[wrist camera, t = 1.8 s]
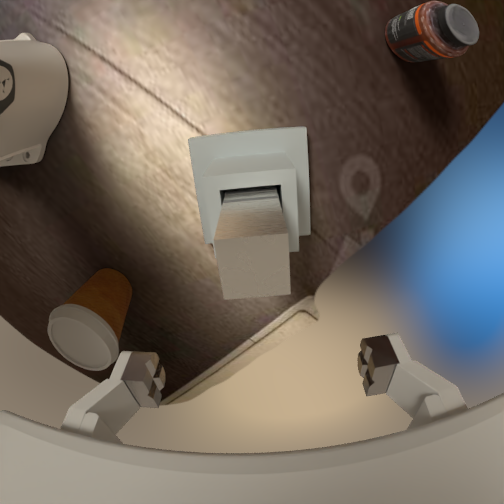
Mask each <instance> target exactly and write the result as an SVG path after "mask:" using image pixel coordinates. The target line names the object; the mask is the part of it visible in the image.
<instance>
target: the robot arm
mask: <svg viewBox="0 0 504 504" xmlns="http://www.w3.org/2000/svg"><path fill="white" fill-rule="evenodd" d="M67 94H68V72H67V67H66V64H65V61H64V59H63V57H62V55H61V53H60V52H59V51H58V50H57V49H56V48H55V47H53V46H52V45H50V44H47V43H42V42H38V41H37V40H36V39H35V38H34V37H33V36H32V35H31V34H30V33H22V34H20V35H19V36H18V37H16V38H15V39H14V40H0V167H2V166H11V165H22V164H33V163H38V162H40V161H41V160H42V158H43V156H44V152H45V148H46V144H47V140H48V138H49V137H50V135H51V133H52V132H53V131H54V129H55V128H56V126H57V124H58V122H59V120H60V118H61V116H62V113H63V111H64V108H65V104H66V100H67ZM29 154H30V157H29ZM360 347H361V351H360V352H359V354H358V370H359V373H360V375H361V376H362V377H363V378H364V381H363V386H364V390H365V393H366V396H371V395H377V394H383V393H386V394H387V395H388V396H389V397H390V398H391V399H392V400H393V401H394V402H396V403H397V404H398V405H399V406H400V407H401V408H402V409H403V410H404V411H406V412H407V413H408V414H409V415H410V416H411V417H412V418H413V420H412V422H411V424H410V425H409V427H408V428H407V430H405V431H401V432H397V433H393V434H390V435H385V436H381V437H377V438H372V439H368V440H363V441H358V442H353V443H347V444H342V445H336V446H329V447H322V448H314V449H306V450H296V451H284V452H270V453H231V454H230V453H226V454H225V453H198V452H183V451H171V450H162V449H154V448H146V447H139V446H133V445H127V444H123V443H122V442H121V441H120V439H119V438H118V437H117V436H116V433H117V432H118V431H119V430H120V429H121V428H122V427H123V426H124V425H125V424H126V423H127V422H128V421H129V420H130V418H131V417H132V416H133V415H134V414H135V413H136V412H137V411H138V410H139V409H140V407H150V408H159V404H160V400H161V396H162V395H161V393H160V390H161V389H162V388H163V387H164V385H165V371H164V368H163V366H162V365H161V364H159V363H158V361H159V357H158V355H157V353H152V352H134V351H133V352H131V351H122V352H121V353H120V355H119V358H118V360H117V362H116V364H115V367H114V369H113V371H112V374H111V376H110V379H106V380H104V381H103V382H102V383H101V384H99V385H98V386H97V387H95V388H94V389H93V390H92V391H90V392H89V393H88V394H86V395H85V396H84V397H82V398H81V399H80V400H79V401H77V402H76V403H75V404H73V405H72V406H71V407H70V408H69V410H68V412H67V415H66V417H65V419H64V421H63V424H62V426H61V429H58V428H54V427H51V426H48V425H45V424H42V423H39V422H36V421H33V420H30V419H27V418H25V417H22V416H20V415H17V414H14V413H12V412H10V411H6V410H2V411H0V504H504V393H502V394H501V395H498V396H496V397H494V398H492V399H490V400H488V401H485V402H483V403H481V404H479V405H477V406H474V407H472V408H469V409H468V408H467V406H466V404H465V402H464V400H463V398H462V396H461V394H460V392H459V390H458V388H457V386H455V385H454V384H452V383H451V382H449V381H448V380H446V379H444V378H443V377H441V376H439V375H438V374H436V373H435V372H433V371H432V370H430V369H428V368H427V367H425V366H424V365H422V364H421V363H419V362H417V361H416V360H414V361H412V359H411V357H410V355H409V353H408V351H407V349H406V347H405V345H404V343H403V341H402V339H401V337H400V335H399V334H398V333H393V334H387V335H381V336H375V337H370V338H364V339H362V340H361V344H360Z"/></svg>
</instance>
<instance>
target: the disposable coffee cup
mask: <svg viewBox="0 0 504 504" xmlns="http://www.w3.org/2000/svg"><path fill="white" fill-rule="evenodd" d="M131 297H132V287H131V284H130V282H129V281H128V279H127V278H126V277H125V276H124V275H123V274H121V273H120V272H118V271H116V270H114V269H110V268H104V269H101V270H99V271H97V272H96V273H95V274H94V275H93V276H92V277H91V278H90V279H89V280H88V281H87V282H86V283H85V284H84V285H83V286H82V287H81V288H79V289H78V290H77V291H76V292H75V293H74V294H73V295H72V296H71V297H70V298H69V299H68V300H67V301H66V302H65V303H64V304H63V305H61V306H59V307H57V308H55V309H54V310H53V311H52V313H51V314H50V317H49V325H48V335H49V338H50V340H51V342H52V343H53V345H54V346H55V348H56V349H57V350H58V352H59V353H60V354H61V355H62V356H64V357H65V358H66V359H67V360H69V361H70V362H72V363H73V364H75V365H77V366H79V367H82V368H84V369H88V370H94V371H100V370H103V369H106V368H107V367H108V366H109V365H110V364H112V363H113V362H115V360H116V359H117V357H118V353H119V348H118V347H119V346H118V342H119V339H120V335H121V331H122V328H123V324H124V320H125V317H126V314H127V310H128V307H129V304H130V301H131Z"/></svg>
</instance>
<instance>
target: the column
mask: <svg viewBox="0 0 504 504" xmlns="http://www.w3.org/2000/svg"><path fill="white" fill-rule="evenodd" d="M213 241H214V247H215V253H216V258H217V264H218V270H219V275H220V281H221V286H222V291H223V297H224V300H226V299H240V298H253V297H265V296H277V295H288V294H291V291H290V263H289V240H288V231H287V227H286V223H285V220H284V216H283V212H282V209H281V205H280V201H279V196H278V194H277V189H276V187H275V185H268V186H257V187H246V188H236V189H227V190H226V193H225V197H224V201H223V204H222V208H221V212H220V216H219V220H218V224H217V228H216V231H215V235H214V239H213Z"/></svg>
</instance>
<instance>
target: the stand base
mask: <svg viewBox="0 0 504 504" xmlns="http://www.w3.org/2000/svg"><path fill="white" fill-rule="evenodd" d="M188 143H189V149H190V156H191V163H192V169H193V175H194V182H195V188H196V194H197V200H198V206H199V212H200V217H201V223H202V229H203V234H204V240H205V244H211V243H213V247H214V241H213V239H214V235H215V231H216V228H217V224H218V220H219V216H220V212H221V208H222V204H223V201H224V197H225V193H226V190H227V189H236V188H246V187H257V186H268V185H275V187H276V189H277V194H278V196H279V201H280V205H281V209H282V212H283V216H284V220H285V223H286V227H287V231H288V240H289V252H297V251H299V236H301V235H310V191H309V166H308V147H307V130H306V127H286V128H271V129H259V130H248V131H238V132H229V133H221V134H213V135H205V136H198V137H192V138H189V139H188ZM214 253H215V247H214ZM215 259H216V253H215Z"/></svg>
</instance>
